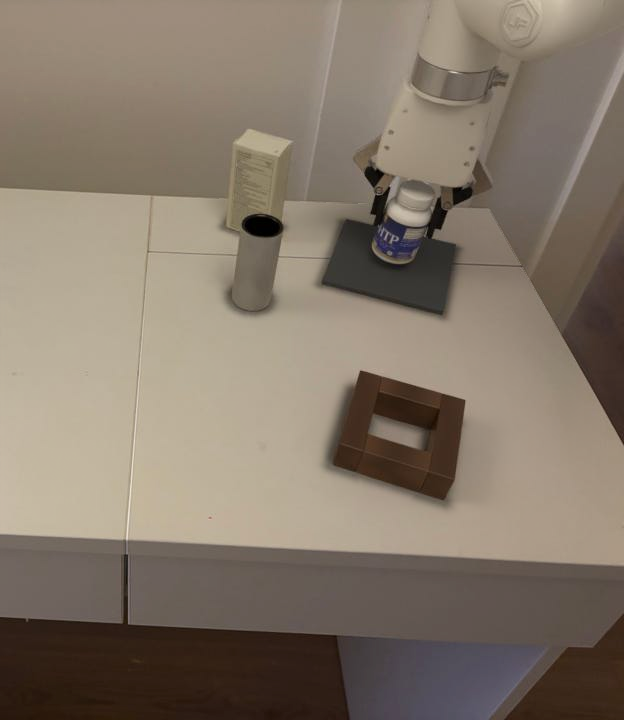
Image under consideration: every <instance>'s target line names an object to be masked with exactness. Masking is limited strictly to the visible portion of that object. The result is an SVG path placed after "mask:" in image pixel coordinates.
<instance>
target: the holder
mask: <svg viewBox="0 0 624 720" xmlns="http://www.w3.org/2000/svg"><path fill="white" fill-rule="evenodd" d="M466 402H467V401H466V399H463V398H460V397H457V396H453V395H450V394H446V393H442V392H439V391H436V390H433V389H429V388H425V387H422V386H419V385H418V386H417V385H415V384H410V383H407V382H404V381H401V380H398V379H393V378H390V377H387V376H386V377H385V376H382V375H379V374H376V373H372V372H369V371H365V370H359V372H358V376H357V379H356V382H355V385H354V388H353V391H352V394H351V397H350V401H349V405H348V409H347V412H346V416H345V419H344V423H343V426H342V428H341V429H342V430H341V433H340V436H339V440H338V443H337V447H336V450H335V454H334V457H333V461H332V465H333V466H335V467H339V468H342V469H346V470H347V471H351V472H355V473H357V474H359V475H363V476H366V477H370V478H373V479H376V480H379V481H382V482H385V483H388V484H392V485H394V486H398V487H401V488H404V489H407V490H410V491H413V492H417V493H420V494H423V495H425V496H429V497H432V498H435V499H438V500H442V501H445V499H446V497H447V495H448V494H449V491H450V489H451V488H452V486H453V484H454V482H455V479H456V472H457V465H458V458H459V451H460V444H461V438H462V437H461V436H462V431H463V423H464V416H465V409H466ZM373 414H375V415H379V416H382V417H385V418H389V419H392V420H394V421H395V420H396V421H399V422H402V423H406V424H409V425H413V426H415V427H419V428H422V429H426V430H428V431H429V436H428V440H427V441H428V442H427V447H426V451H425V450H422V449H418V448H415V447H412V446H409V445H405V444H402V443H398V442H395V441H392V440H388V439H386V438H382V437H379V436H376V435H373V434H370V433H369V430H370V425H371V422H372V419H373Z"/></svg>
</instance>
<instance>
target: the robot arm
mask: <svg viewBox="0 0 624 720" xmlns="http://www.w3.org/2000/svg"><path fill="white" fill-rule="evenodd" d="M428 10H429V11H428V14H427V17H426V21H425V25H424V29H423V32H422V35H421V39H420V43H419V46H418V50H417V54H416V57H415V60H414V65H413V68H412V71H411V73H408V74H406V75H404V76H403V78H402V80H401V82H400V84H399V86H398V88H397V91H396V93H395V95H394V98H393V101H392V102H391V106H390V108H389V111H388V115H387V118H386V121H385V123H384V127H383V131H382V133H381V134H379V135H378V136H376V137H375V138H373V139H372V140H371V141H368V142H367V143H366V144H364V145H363V146H361V147H360V148H358V149H357V150H356V151H355V152H354V154H353V156H352V161H353V163H354V164H355V165H356V167H358V169H359V170H360V171H362V172H363V176H364V177H365V178H366V181H368V183H369V184H370V186H371V188H373V194H374V197H373V201H372V204H371V208H370V212H369V215H373V216H375V217H374V221H373V224H372V225H374V226H379V225H380V222H381V219H382V215H383V213H384V210H385V207H386V205H387V203H388V198H389V195H390V191H391V189H392V187H391V186H390V185H391V184H392V183H393V181H394V180H395V179H396V178H397V177H399V178H402V179H407V180H416V181H421V182H424V183H426V184H430V185H431V184H432V185H436V186H440V187H439V188H440V195H439V196H438V197H437V198H436V202H435V204H434V208H433V210H432V218H431V221H430V223H429V225H428V228H427V230H426V232H425V237H427V238H430V239H433V237H434V234H435V232H436V230H437V231H442V229H443V227H444V223H445V220H446V218H447V215H448V212H449V211H450V210H451V211H452V209H453V207H455V206H456V205H459V204H461V203H463V202H465V201H467V200H469V199H471V198H472V197H473V196H477V195H479V194H482V193H485V192H487V191H490V190H492V188H493V184H494V179H493V177H492V175H491V173H490V171H489V169H488V167H487V166H486V163H485V161H484V160H483V158H482V156H481V154H480V151H481V148H482V145H483V142H484V138H485V135H486V131H487V128H488V124H489V119H490V115H491V111H492V106H493V102H494V101H493V100H494V90H493V88H497V87H503V88H505V87H506V85H507V84H508V81H509V78H510V73H511V72H507V71H503V69H499V65H497V64H498V62H499V59H500V57H501V54H502V53H504V54H505V55H507V56H509V57H511V58H513V59H515V60H519V61H522V62H539V61H545V60H547V59H550V58H552V57H555V56H558V55H560V54H562V53H564V52H567V51H569V50H571V49H574V48H576V47H577V46H579V45H582V44H584V43H587V42H589V41H592V40H594V39H596V38H599V37H601V36H604V35H606V34H609V33H611V32H613V31H615V30H616V29H619V28H620V27H622V26H624V0H431V3H430V6H429V9H428ZM373 156H375V162H374V161H373V158H372V157H373ZM472 176H473V177H474V178H473V180H471V181H470V179H471V177H472Z"/></svg>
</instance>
